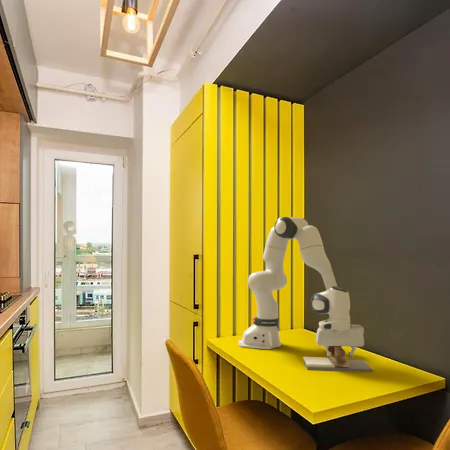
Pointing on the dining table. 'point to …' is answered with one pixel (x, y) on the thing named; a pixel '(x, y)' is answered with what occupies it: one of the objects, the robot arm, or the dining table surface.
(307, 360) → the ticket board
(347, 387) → the dining table surface
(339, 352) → the stub
